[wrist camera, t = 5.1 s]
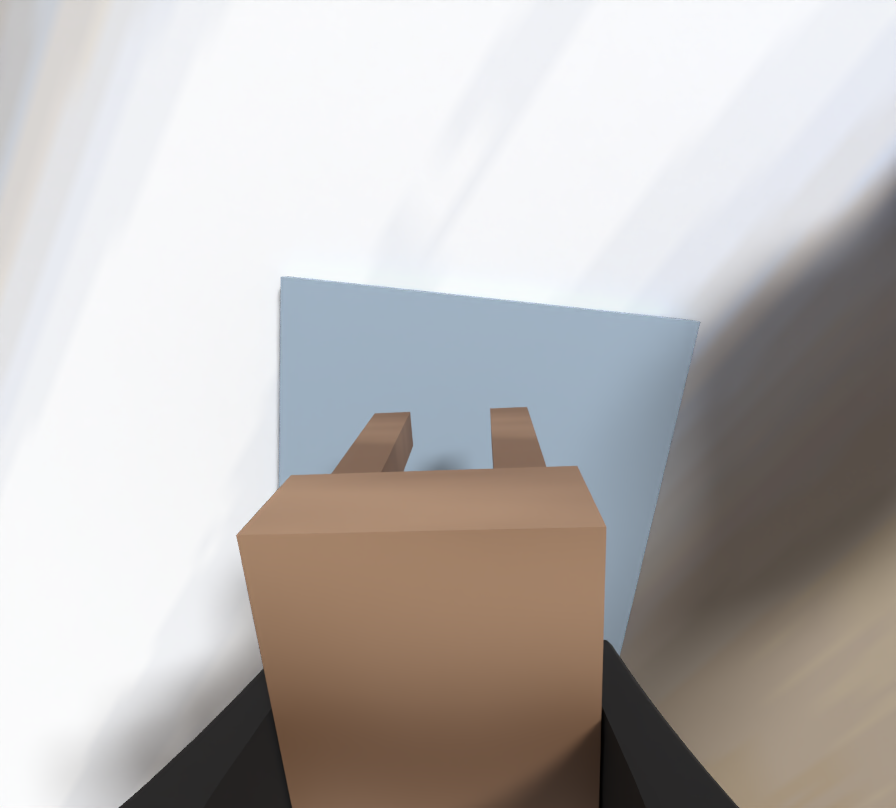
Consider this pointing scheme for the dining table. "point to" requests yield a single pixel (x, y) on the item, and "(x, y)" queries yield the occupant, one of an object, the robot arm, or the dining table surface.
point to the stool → (433, 626)
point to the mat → (490, 393)
